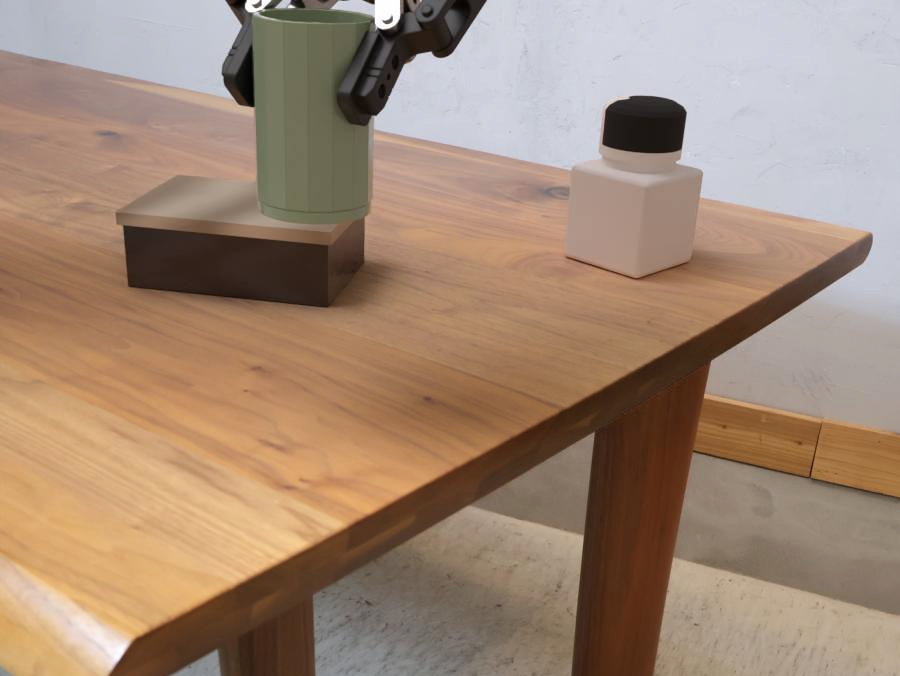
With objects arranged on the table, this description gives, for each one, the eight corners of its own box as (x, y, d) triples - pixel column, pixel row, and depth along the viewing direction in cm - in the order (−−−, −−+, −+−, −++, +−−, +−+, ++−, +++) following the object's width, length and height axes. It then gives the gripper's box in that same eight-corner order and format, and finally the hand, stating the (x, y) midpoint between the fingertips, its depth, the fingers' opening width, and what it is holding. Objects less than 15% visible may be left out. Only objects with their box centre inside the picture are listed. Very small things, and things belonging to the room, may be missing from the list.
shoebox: (121, 287, 78) (114, 211, 75) (181, 243, 87) (177, 174, 85) (331, 309, 76) (331, 232, 73) (369, 261, 85) (370, 191, 83)
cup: (241, 218, 55) (234, 17, 51) (277, 189, 60) (273, 4, 55) (355, 229, 54) (358, 26, 50) (382, 200, 59) (386, 13, 55)
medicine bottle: (692, 262, 88) (715, 102, 83) (636, 280, 84) (657, 112, 78) (618, 240, 93) (635, 86, 87) (561, 256, 88) (576, 95, 83)
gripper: (277, -245, 57) (128, 33, 52) (544, -241, 51) (400, 71, 47) (336, -123, 63) (207, 132, 59) (578, -107, 57) (454, 177, 53)
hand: (293, 104), depth 53 cm, fingers closed on cup, 5 cm apart
